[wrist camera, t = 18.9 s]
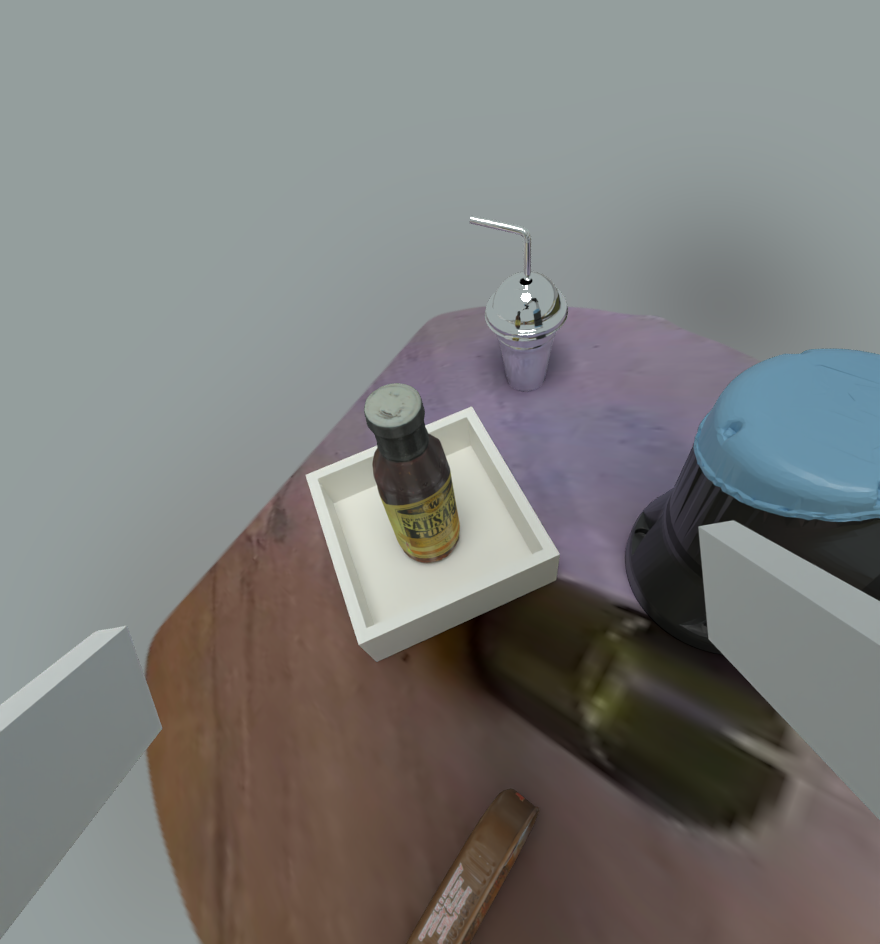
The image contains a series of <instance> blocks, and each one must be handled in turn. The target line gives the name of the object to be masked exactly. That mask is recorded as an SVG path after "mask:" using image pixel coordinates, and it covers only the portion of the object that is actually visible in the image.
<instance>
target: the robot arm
mask: <svg viewBox="0 0 880 944" xmlns="http://www.w3.org/2000/svg"><path fill="white" fill-rule="evenodd" d="M625 563H626V571H627V576H628V580H629V583H630V586H631V588H632V590H633V592H634V594H635V596H636V598H637V600H638V601H639V603H640V605H641V606H642V607H643V609H644V610H645V611H646V613H647V614H648V615H649V616H650V617H651V618H652V619H653V620H654V621H655V622H656V623H657V624H658V625H659V626H660V627H662V628H663V629H664V630H665V631H667V632H668V633H669V634H671V635H672V636H674V637H675V638H677V639H679V640H681V641H682V642H684V643H687V644H689V645H691V646H693V647H696V648H698V649H701V650H704V651H708V652H712V653H717V654H723V655H724V656H725V657H726V658H727V659H728V660H729V661H730V662H731V663H732V664H733V666H734V667H735V668H736V669H737V670H738V671H739V672H740V673H741V674H742V675H743V676H744V677H745V678H746V679H747V680H748V681H749V682H750V683H751V685H752V686H753V687H754V688H755V689H756V690H757V691H758V692H759V693H760V694H761V695H762V696H763V697H764V698H765V699H766V700H767V701H768V703H769V704H770V705H771V706H772V707H773V708H774V709H775V710H776V711H777V712H778V713H779V714H780V715H781V716H782V717H783V718H784V719H785V721H786V722H787V723H788V724H789V725H790V726H791V727H792V728H793V729H794V730H795V731H796V732H797V733H798V734H799V735H800V736H801V737H802V738H803V740H804V741H805V742H806V743H807V744H808V745H809V746H810V747H811V748H812V749H813V750H814V751H815V752H816V753H817V754H818V755H819V756H820V758H821V759H822V760H823V761H824V762H825V763H826V764H827V765H828V766H829V767H830V768H831V769H832V770H833V771H834V772H835V773H836V774H837V775H838V777H839V778H840V779H841V780H842V781H843V782H844V783H845V784H846V785H847V786H848V787H849V788H850V789H851V790H852V791H853V792H854V793H855V795H856V796H857V797H858V798H859V799H860V800H861V801H862V802H863V803H864V804H865V805H866V806H867V807H868V808H869V809H870V810H871V811H872V812H873V814H874V815H875V816H876V817H877V818H878V819H879V820H880V355H879V354H875V353H869V352H864V351H858V350H849V349H811V350H806V351H804V352H802V353H801V354H783V355H779V356H776V357H772V358H769V359H767V360H765V361H762V362H760V363H758V364H756V365H754V366H752V367H750V368H749V369H747V370H745V371H744V372H743V373H741V374H740V375H738V376H737V377H736V378H735V379H734V380H733V381H732V382H731V383H730V384H729V385H728V386H727V387H726V388H725V389H724V391H723V392H722V393H721V395H720V396H719V398H718V400H717V401H716V403H715V405H714V407H713V408H712V410H711V411H710V412H709V413H708V414H707V415H706V416H705V418H704V419H703V420H702V422H701V424H700V425H699V427H698V433H697V435H696V437H695V442H694V445H693V447H692V449H691V452H690V454H689V456H688V458H687V460H686V463H685V465H684V467H683V469H682V471H681V474H680V476H679V478H678V480H677V482H676V484H675V487H674V488H673V489H671V490H670V491H668V492H666V493H665V494H663V495H661V496H660V497H658V498H657V499H655V500H654V501H653V502H651V503H650V504H649V505H648V506H647V507H646V508H645V509H644V510H643V512H642V513H641V514H640V516H639V517H638V519H637V520H636V522H635V524H634V526H633V529H632V531H631V534H630V536H629V539H628V542H627V547H626V555H625ZM161 729H162V726H161V723H160V720H159V717H158V714H157V711H156V708H155V706H154V703H153V700H152V697H151V694H150V691H149V688H148V685H147V682H146V679H145V676H144V673H143V670H142V668H141V665H140V662H139V659H138V656H137V653H136V650H135V647H134V644H133V641H132V638H131V635H130V632H129V630H128V627H127V626H123V627H117V628H111V629H105V630H100V631H95V632H94V633H93V634H92V635H90V636H89V637H88V638H86V639H85V640H84V641H82V642H81V643H80V644H79V645H77V646H76V647H75V648H73V649H72V650H71V651H70V652H68V653H67V654H66V655H64V656H63V657H62V658H60V659H59V660H58V661H57V662H55V663H54V664H53V665H51V666H50V667H49V668H48V669H46V670H45V671H44V672H43V673H41V674H40V675H39V676H37V677H36V678H35V679H34V680H32V681H31V682H30V683H28V684H27V685H26V686H24V687H23V688H22V689H21V690H19V691H18V692H17V693H15V694H14V695H13V696H12V697H10V698H9V699H8V700H6V701H5V702H4V703H2V704H1V705H0V939H1V938H2V936H3V935H4V934H5V933H6V931H7V930H8V929H9V927H10V926H11V925H12V923H13V922H14V921H15V920H16V918H17V917H18V916H19V914H20V913H21V912H22V910H23V909H24V908H25V906H26V905H27V904H28V903H29V901H30V900H31V899H32V897H33V896H34V895H35V894H36V892H37V891H38V890H39V888H40V887H41V886H42V884H43V883H44V882H45V880H46V879H47V878H48V877H49V875H50V874H51V873H52V871H53V870H54V869H55V868H56V866H57V865H58V864H59V862H60V861H61V860H62V858H63V857H64V856H65V854H66V853H67V852H68V851H69V849H70V848H71V847H72V845H73V844H74V843H75V841H76V840H77V839H78V838H79V836H80V835H81V834H82V832H83V831H84V830H85V828H86V827H87V826H88V825H89V823H90V822H91V821H92V819H93V818H94V817H95V815H96V814H97V813H98V811H99V810H100V809H101V808H102V806H103V805H104V804H105V802H106V801H107V800H108V798H109V797H110V796H111V795H112V793H113V792H114V791H115V789H116V788H117V787H118V785H119V784H120V783H121V782H122V780H123V779H124V778H125V776H126V775H127V774H128V772H129V771H130V770H131V768H132V767H133V766H134V765H135V763H136V762H137V761H138V759H139V758H140V757H141V755H142V754H143V753H144V752H145V750H146V749H147V748H148V746H149V745H150V744H151V742H152V741H153V740H154V739H155V737H156V736H157V735H158V733H159V732H160V731H161Z"/></svg>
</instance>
